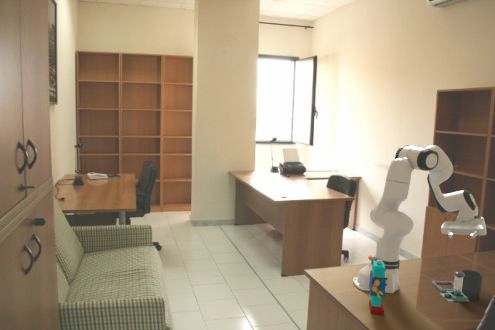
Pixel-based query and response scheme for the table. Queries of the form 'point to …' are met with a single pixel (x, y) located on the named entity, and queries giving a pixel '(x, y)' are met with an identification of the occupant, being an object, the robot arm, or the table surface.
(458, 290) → the salt shaker
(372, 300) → the toy robot
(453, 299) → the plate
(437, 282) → the grey square frame
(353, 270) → the table surface
